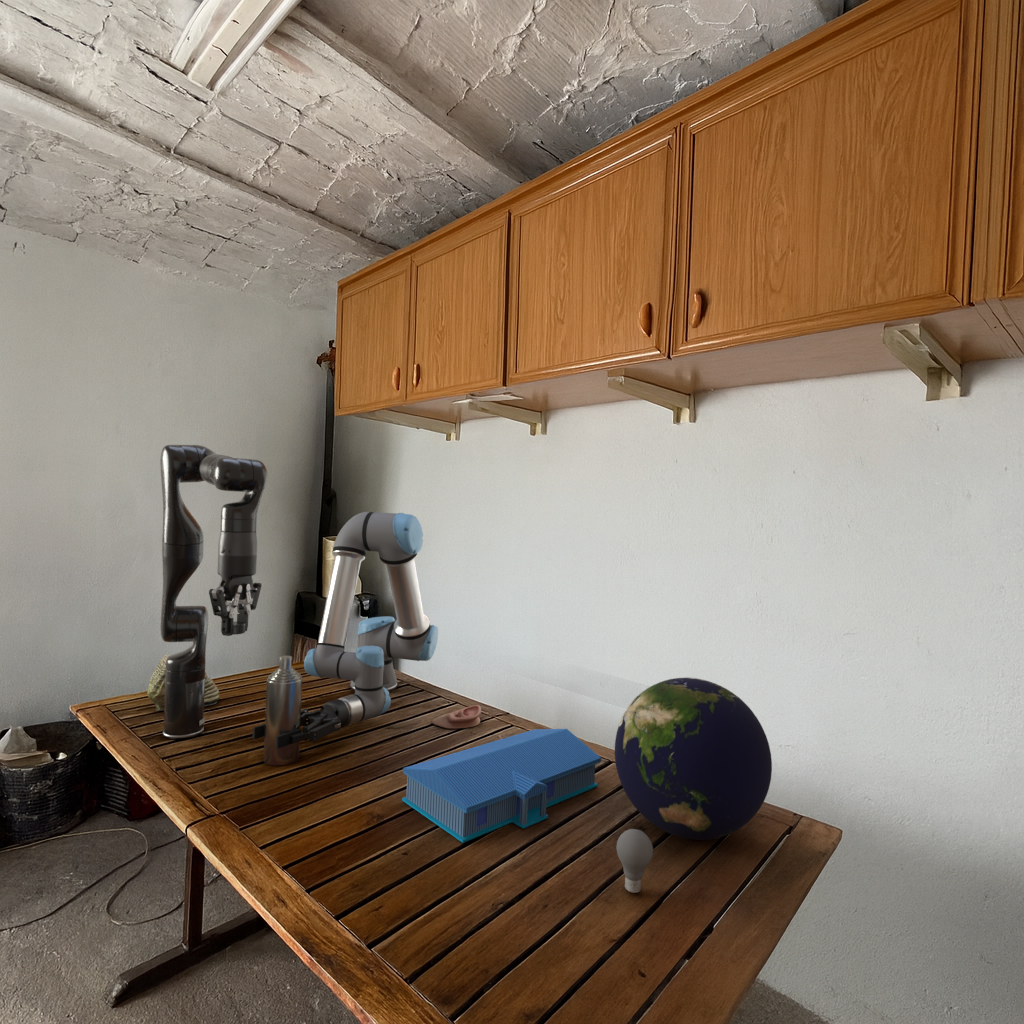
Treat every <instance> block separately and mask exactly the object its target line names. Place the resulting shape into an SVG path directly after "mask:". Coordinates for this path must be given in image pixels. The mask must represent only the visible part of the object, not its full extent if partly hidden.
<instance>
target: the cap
mask: <svg viewBox="0 0 1024 1024" xmlns="http://www.w3.org/2000/svg"><path fill="white" fill-rule="evenodd" d="M245 628H246V625H245V622H237V621H233V635H232V636H234V635H242V634H245V633H246V631H245Z"/></svg>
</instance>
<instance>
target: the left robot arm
mask: <svg viewBox="0 0 1024 1024" xmlns="http://www.w3.org/2000/svg"><path fill="white" fill-rule="evenodd" d="M159 463H160V464H159V465H160V466H159V467H160V481H161V491H162V492H161V494H162V536H161V537H162V538H161V557H162V558H161V559H162V594H161V595H162V597H161V610H160V626H159V628H160V637H161V640H162V641H164V642H165V643H189V642H190V643H192V645H191V646H189V647H187V648H186V649H184V650H182V651H179V652H176V653H174V654H170V655H171V656H169V657H168V658H167V660H166V674H165V705H164V710H163V730H162V737H164V738H166V739H169V740H185V739H190V738H191V739H192V738H194V737H197V736H199V735H202V734H203V732H204V730H205V729H204V726H205V725H204V724H205V722H206V719H205V718H206V717H205V707H206V706H205V705H204V693H205V672H206V664H207V663H206V656H207V655H206V654H207V653H206V652H207V637H208V636H207V635H208V627H209V611H208V609H207V607H206V606H205V605H176V603H177V600H178V597H179V595H180V593H181V592H182V590H183V588H184V586H185V585H186V583H188V581H189V580H190V579H191V577H192V576H193V575H194V573H195V572H196V571H197V569H198V568H199V566H200V565H201V563H202V562H203V558H204V531H203V529H202V527H201V526H200V524H199V522H198V521H197V520H196V518H195V517H194V516H193V515H192V513H191V512H190V510H189V509H188V507H187V506H186V505H185V502H184V500H183V498H182V496H181V490H180V484H181V483H200V482H206V483H207V484H210V485H212V486H215V488H216V489H217V490H219V491H224V492H237V493H238V492H241V493H244V494H243V497H242V498H241V499H240V500H238V501H233V502H229V503H225V504H223V505H222V507H221V508H220V509H221V511H220V531H219V538H218V545H217V546H218V549H217V552H218V553H217V554H218V555H217V574H218V576H220V578H221V579H220V582H219V585H218V586H217V587H216V588H210V589H209V590H208V596H209V599H210V603H211V609H212V612H213V615H214V616H216V617H220V618H221V621H220V622H221V624H220V625H221V626H220V632H221V635H222V636H226V637H230V636H234V635H233V622H234V615H235V611H236V610H237V613H236V622H245V625H246V628H245V632H247V631H248V627H249V615H250V614H251V612H252V611H256V609H257V606H258V601H259V598H260V595H261V594H260V593H261V590H262V586H263V585H262V582H255V581H254V580H253V576H254V575H255V576H256V573H257V560H258V558H257V557H258V537H257V528H258V527H257V525H258V524H257V523H258V511H259V508H260V503H261V500H262V497H263V493H264V491H265V488H266V486H267V482H268V469H267V467H266V465H265V463H263V462H262V461H261V460H259V459H251V458H241V457H239V458H238V457H232V456H230V455H226V454H225V455H224V454H219V453H218V454H217V453H216V452H214V451H213V450H212V449H210V448H208V447H206V446H204V445H199V444H167V445H165V446H164V447H162V449H161V453H160V461H159Z"/></svg>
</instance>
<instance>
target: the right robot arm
mask: <svg viewBox="0 0 1024 1024" xmlns="http://www.w3.org/2000/svg"><path fill="white" fill-rule="evenodd" d="M423 537H424V533H423V527H422V524H421V522H420V520H419V519H418V517H417V516H415V515H413V514H409V513H404V512H397V513H396V512H395V513H394V512H376V511H363V512H359V513H357V514H355V515H354V516H352V517H351V518H350V519H349V520H347V521H346V522H345V524H343V526H342V527H341V529H340V530H339V532H338V534H337V536H336V538H335V540H334V542H333V548H332V552H331V555H332V556H333V557H334V561H333V565H332V570H331V574H330V575H331V576H330V579H329V584H328V591H327V595H326V599H325V605H324V610H323V616H322V620H321V625H320V630H319V634H318V641H317V644H316V647H315V648H310V649H309V650H308V651H307V653H306V656H304V660H303V668H304V671H305V673H306V674H307V675H309V676H312V677H316V678H320V679H324V678H327V679H335V680H337V679H338V680H344V681H350V683H349V685H350V686H349V688H350V690H351V691H354V693H353V694H349V695H345V696H342V697H339V698H337V699H332V700H329V701H327V702H325V703H324V704H323V705H322V706H321V708H320V709H315V710H313V711H309V708H307V707H306V708H303V709H301V725H300V727H302V728H300V729H297V730H294V731H290V732H287V733H284V734H281V735H278V736H276V748H277V749H278V748H281V747H284V746H287V745H290V744H293V743H295V742H298V741H300V742H301V741H308V740H309V742H310V743H313V742H316V741H318V740H320V739H321V738H324V737H326V736H328V735H330V734H332V733H335V732H339V731H341V729H344V728H345V727H348V728H350V727H351V726H352V725H354V724H357V723H360V722H363V721H366V720H369V719H372V718H377V717H378V716H381V715H383V714H384V713H386V712H387V711H388V710H389V709H390V707H391V704H392V698H391V697H390V692H392V691H395V690H396V689H397V688H398V679H397V675H396V671H395V669H394V663H393V659H399V660H407V661H416V662H428V661H430V660H431V659H432V658H433V656H434V654H435V651H436V648H437V644H438V638H439V628H438V626H437V625H434V624H432V625H431V621H430V618H429V617H428V616H427V615H426V614H424V613H425V612H424V607H423V603H422V597H421V590H420V584H419V578H418V573H417V568H416V567H417V566H416V561H415V559H416V558H417V557H418V554H419V553H420V551H421V550H422V547H423V542H424V539H423ZM367 552H376V553H378V556H379V560H380V561H381V563H383V564H384V565H386V571H387V575H388V582H389V586H390V591H391V596H392V601H393V606H394V612H395V617H396V619H395V618H394V616H391V615H389V616H387V615H386V616H375V617H369V618H366V619H365V618H364V619H363V620H360V622H359V624H358V629H357V646H356V647H357V648H356V650H355V652H351V651H345V645H346V640H347V636H348V630H349V624H350V619H351V615H352V609H353V604H354V600H355V593H356V589H357V584H358V579H359V573H360V568H361V564H362V562H363V561H364V560H366V555H367ZM264 735H265V723H262V724H259V725H255V726H253V727H252V740H257V739H261V738H262V737H264Z"/></svg>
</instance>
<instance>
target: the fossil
mask: <svg viewBox="0 0 1024 1024" xmlns="http://www.w3.org/2000/svg"><path fill="white" fill-rule="evenodd" d="M171 655H172V654H165V655H164V656H163V657H162V658H161V659H160V660H159V662H158V663H157V666H156V667H155V669H154V670H153V672H152V675H151V677H150V680H149V684H148V688H147V697H148V699H149V700H150V701H152V703H153V704H154V706H155V711H158V712H159V711H162V712H163V711H164V705H165V674H166V660H167V658H168V657H169V656H171ZM220 698H221V696H220V690H219V688H218V686H217V685H216V683H215V682H214V681H213V679H212V678H211V677H209V675H208V674H207V672H206V671H205V693H204V705H205V706H204V707H207V706H213V705H215V704H217V703H218V701H219V699H220Z"/></svg>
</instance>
